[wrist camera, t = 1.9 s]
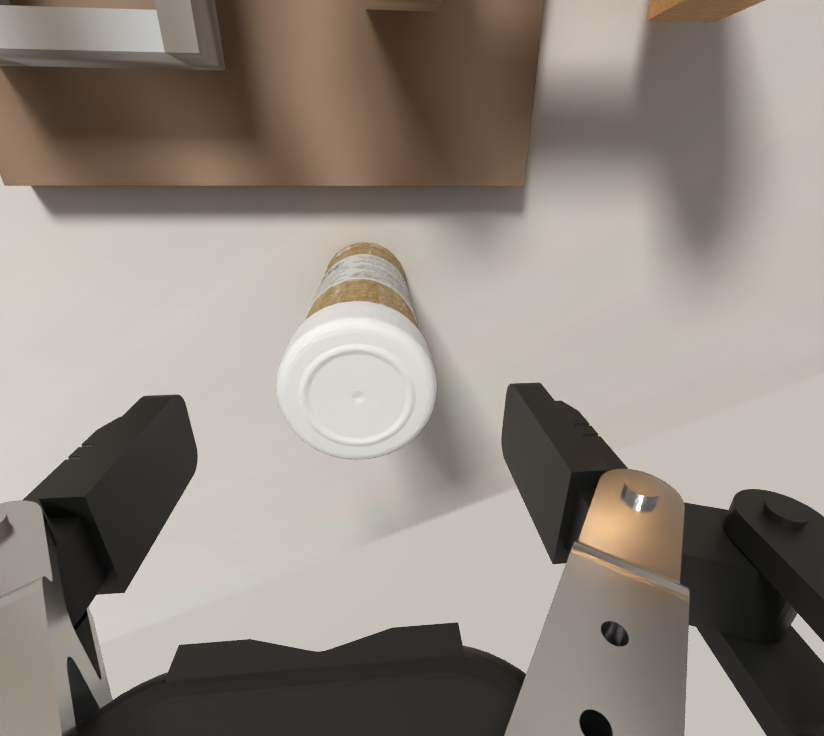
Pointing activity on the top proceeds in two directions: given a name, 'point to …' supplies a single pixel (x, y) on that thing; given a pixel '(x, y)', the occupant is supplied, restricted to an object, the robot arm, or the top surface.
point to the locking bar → (696, 9)
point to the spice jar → (358, 361)
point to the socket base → (267, 92)
